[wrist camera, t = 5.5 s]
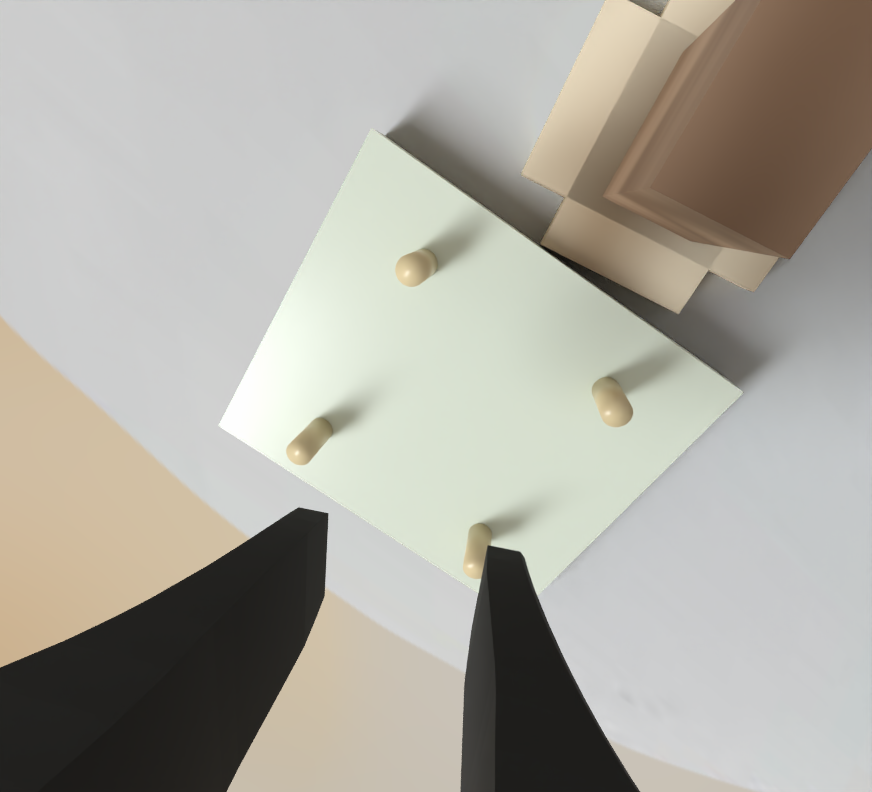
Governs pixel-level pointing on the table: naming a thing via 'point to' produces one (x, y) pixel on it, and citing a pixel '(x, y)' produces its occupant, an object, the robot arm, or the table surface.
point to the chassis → (464, 379)
